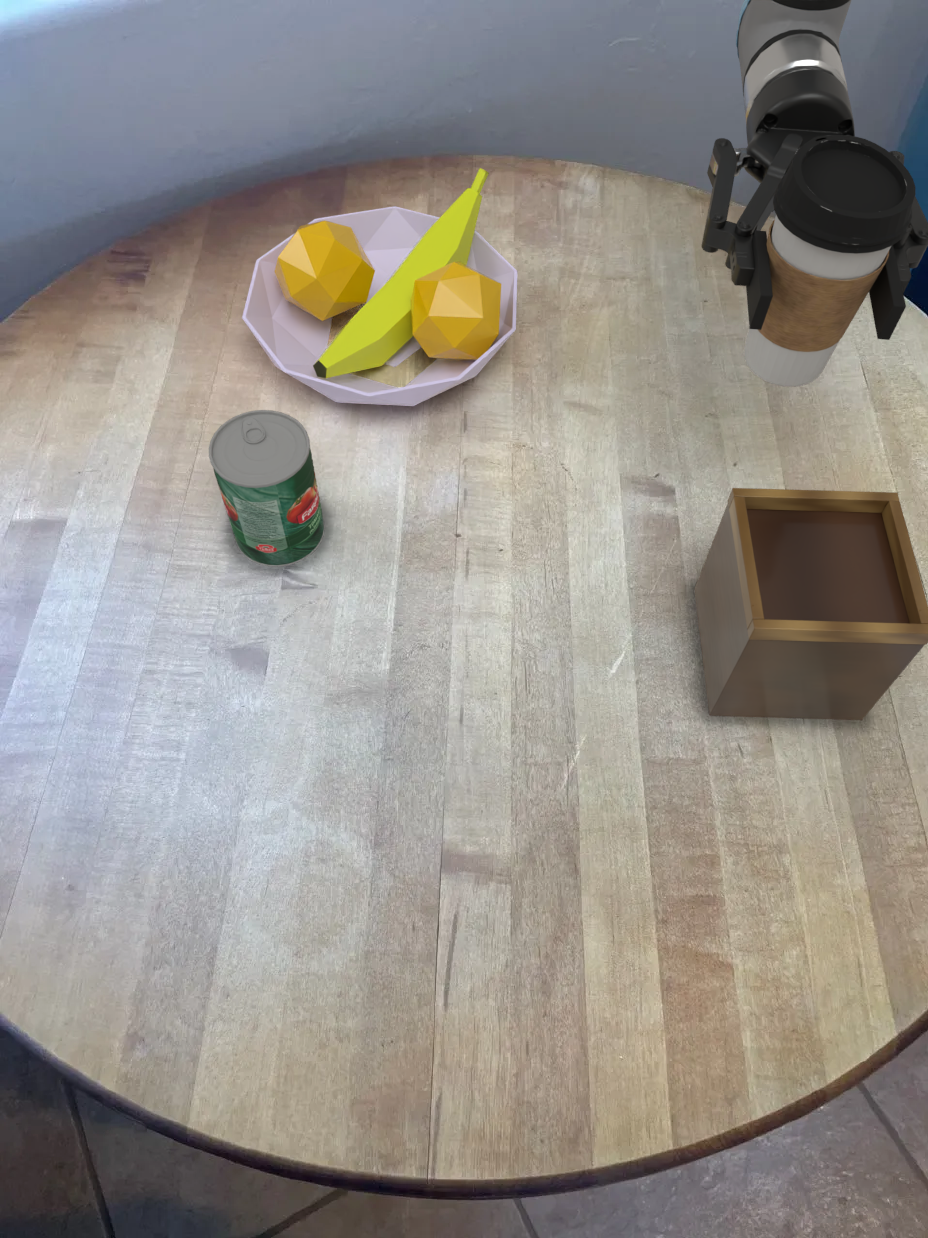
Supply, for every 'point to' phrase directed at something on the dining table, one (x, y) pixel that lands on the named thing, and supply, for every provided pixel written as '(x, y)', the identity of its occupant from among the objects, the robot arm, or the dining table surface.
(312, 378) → the fruit bowl
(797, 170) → the coffee cup
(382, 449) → the dining table surface
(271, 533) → the canned tomato
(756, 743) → the dining table surface
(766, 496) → the box
